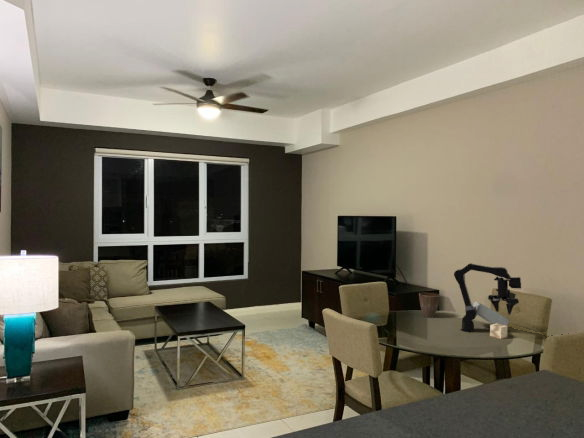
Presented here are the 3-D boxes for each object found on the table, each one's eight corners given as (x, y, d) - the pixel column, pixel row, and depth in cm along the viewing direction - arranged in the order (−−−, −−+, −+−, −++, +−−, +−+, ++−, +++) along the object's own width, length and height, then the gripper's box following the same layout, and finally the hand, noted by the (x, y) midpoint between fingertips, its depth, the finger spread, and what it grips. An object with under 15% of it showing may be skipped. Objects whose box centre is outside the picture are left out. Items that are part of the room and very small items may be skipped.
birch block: (489, 336, 276) (490, 324, 276) (496, 334, 280) (496, 323, 280) (500, 338, 270) (501, 327, 270) (507, 337, 274) (507, 325, 274)
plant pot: (425, 313, 334) (425, 291, 334) (443, 317, 323) (444, 294, 323) (414, 316, 324) (414, 293, 324) (432, 320, 313) (433, 297, 313)
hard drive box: (510, 320, 284) (481, 303, 287) (504, 330, 284) (475, 314, 287) (502, 316, 300) (474, 301, 303) (496, 326, 300) (469, 311, 303)
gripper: (525, 288, 271) (525, 314, 271) (500, 285, 289) (501, 309, 288) (511, 290, 267) (511, 316, 267) (487, 286, 285) (487, 310, 284)
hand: (503, 313), depth 277 cm, fingers open, 9 cm apart
